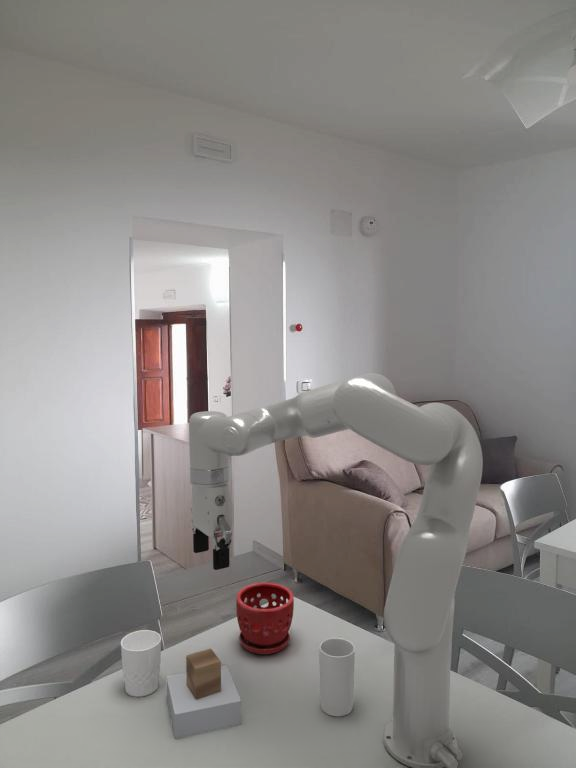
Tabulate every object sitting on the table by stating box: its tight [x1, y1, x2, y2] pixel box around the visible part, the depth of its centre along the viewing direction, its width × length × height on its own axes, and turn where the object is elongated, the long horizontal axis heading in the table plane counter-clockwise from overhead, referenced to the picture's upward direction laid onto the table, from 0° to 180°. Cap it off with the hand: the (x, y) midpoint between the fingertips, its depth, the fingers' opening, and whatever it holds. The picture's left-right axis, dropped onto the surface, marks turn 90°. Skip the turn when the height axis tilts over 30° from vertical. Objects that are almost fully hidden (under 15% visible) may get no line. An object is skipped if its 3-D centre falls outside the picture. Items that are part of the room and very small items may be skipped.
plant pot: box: [235, 582, 295, 655], centre depth 134 cm, size 13×13×12 cm
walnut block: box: [185, 648, 222, 700], centre depth 111 cm, size 5×5×6 cm
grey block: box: [166, 664, 242, 740], centre depth 111 cm, size 12×12×5 cm
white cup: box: [120, 629, 162, 698], centre depth 118 cm, size 8×8×10 cm
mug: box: [318, 637, 356, 717], centre depth 114 cm, size 10×7×12 cm, turn 172°
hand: (210, 559), depth 116 cm, fingers open, 9 cm apart
